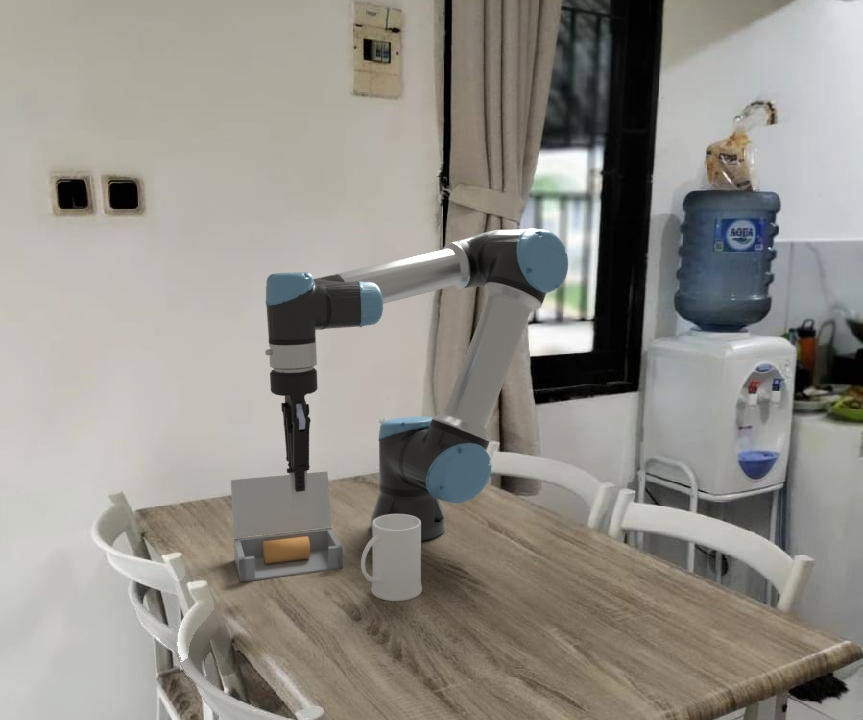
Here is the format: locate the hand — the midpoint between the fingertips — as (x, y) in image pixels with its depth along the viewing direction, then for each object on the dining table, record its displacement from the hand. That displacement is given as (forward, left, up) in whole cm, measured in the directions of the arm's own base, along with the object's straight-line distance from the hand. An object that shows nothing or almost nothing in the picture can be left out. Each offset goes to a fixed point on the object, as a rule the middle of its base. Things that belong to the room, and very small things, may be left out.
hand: (299, 507), depth 128 cm
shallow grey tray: (+1, -10, -14) cm, 17 cm away
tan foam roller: (+1, -11, -12) cm, 16 cm away
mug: (-13, +7, -14) cm, 21 cm away
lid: (+1, -16, -5) cm, 17 cm away
